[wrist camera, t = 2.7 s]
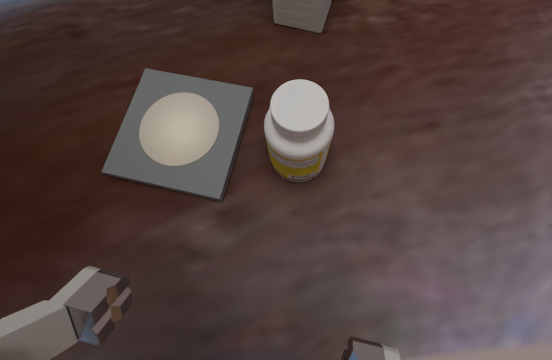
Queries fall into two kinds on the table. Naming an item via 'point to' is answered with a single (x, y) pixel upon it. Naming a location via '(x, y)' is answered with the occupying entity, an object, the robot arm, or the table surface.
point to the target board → (181, 134)
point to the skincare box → (301, 13)
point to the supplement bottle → (298, 130)
